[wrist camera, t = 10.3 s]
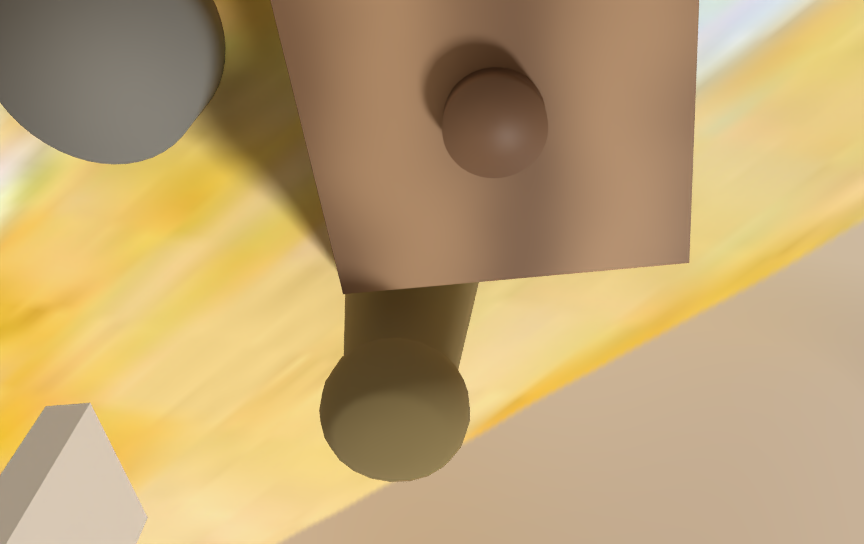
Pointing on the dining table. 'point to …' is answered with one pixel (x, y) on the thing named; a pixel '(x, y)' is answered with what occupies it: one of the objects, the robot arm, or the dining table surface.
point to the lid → (495, 134)
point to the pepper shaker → (400, 382)
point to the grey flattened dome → (109, 72)
